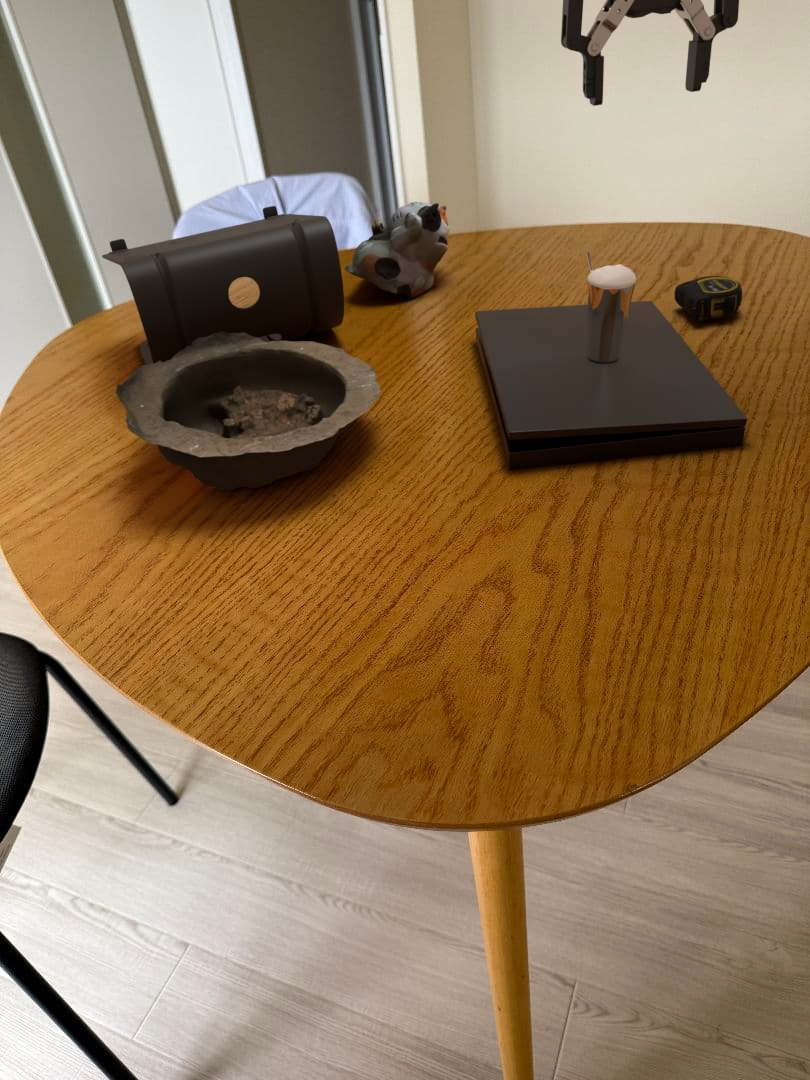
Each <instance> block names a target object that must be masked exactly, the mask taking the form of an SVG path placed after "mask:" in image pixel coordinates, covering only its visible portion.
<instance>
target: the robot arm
mask: <svg viewBox="0 0 810 1080" xmlns="http://www.w3.org/2000/svg"><path fill="white" fill-rule="evenodd" d="M739 9H740V0H713V14H712V15H711V16H710V15H708V13H707V11H706V9H705V5H704V3H703V1H702V0H605V1H604V3H603V6H602V7H601V9H600V10H599V12H598V14H597V15H596V17H595V20H594V22H593V24H592V25H591V27H590V29H589V31H588V32H587V34H586V35H583V34H582V30H583V29H582V28H583V27H582V26H583V14H584V13H583V12H584V0H562V10H561V11H562V13H561V17H562V18H561V33H560V44H561V46H562V47H563V48H565V49H568V50H569V51H573V52H577V53H579V54H581V56H582V92H583V95H584V98H586V99H587V100H589V104H590V105H591V106H593V107H595V106H602V105H603V101H604V75H605V74H604V72H605V56H604V55H602V50H603V49H604V47H605V45H606V44H607V42H608V41H609V39H610V38H611V36H612V34H613V32H615V31H616V30H617V29H618V27H619V26H620V24H621V22H622V21H623V19H624V18H625V17H627V18H630V19H639V18H644V17H646V16H648V15H650V14H656V15H657V14H658V15H667V14H671V13H672V12H673V11H675V12H676V14H677V16H678V17H679V18H680V19H681V20H682V21H683V23H684V24H685V26H686V27H687V29H688V31H689V33H690V34H691V36H692V40H688V49H687V59H686V60H687V62H686V73H685V82H684V83H685V85H684V86H685V90H686V91H687V92H690V93H694V92H700V91H701V89H702V85H703V84H705V83H707V81H708V78H709V76H710V67H711V57H712V46H713V41H714V39H715V37H716V36H717V35H718V34H719V33H722V32H723V31H725V30H727V29H731V28H733V27H735V26H736V25H737V23H738V20H739Z"/></svg>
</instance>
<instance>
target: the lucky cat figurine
mask: <svg viewBox="0 0 810 1080" xmlns="http://www.w3.org/2000/svg"><path fill="white" fill-rule="evenodd" d="M439 206H440V203H438V202H435V203H431V202H430V203H429V202H427V201H422V200H421V201H411V202H409V203H407V204H405V205H402V206H399V207H398V208H397V209H396V210H395V212H394V213H393V214H392V216H391V219H390V221H389V225H388V226H387V231H386V228H385V226H384V224H383V222H382V221H379V220H377V219H376V220H375V221H374V222H373V224H372V225H371V232H372V235H371V236H369V238H368V239H365V240H363V241H361V243H360V244H358V246H357V247H356V249H355V250H354V252H353V256H352V260H351V263H350V264H347V265H346V266H344V270H345V271H346V272H348V273H349V274H351V275H353V276H354V277H356V278H357V277H358V278H360V279H363V280H365V281H367V282H370V283H371V284H374V285H375V286H376V287H377V288H379V289H380V290H383V291H387V292H389V293H392V294H395V295H400V294H402V293H404V294H405V295H406V298H407V299H411V298H415V297H417V296H419V295H421V294H423V293H424V292H426V291H427V290H429V289H431V288H432V287H433V284H434V280H435V277H434V271H435V268H436V267H437V265H438V264H439V262H441V260H442V259H443V257H444V256H445V254H446V253H447V252H448V250H449V244H448V243H449V242H448V239H449V234H450V227H449V220H448V216H447V214H446V211H447V206H446V205H441V206H440V207H439Z"/></svg>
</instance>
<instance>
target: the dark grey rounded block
mask: <svg viewBox="0 0 810 1080" xmlns="http://www.w3.org/2000/svg"><path fill="white" fill-rule="evenodd" d="M278 212H279V211H278V208H277V206H276V205H271V206H266V207H263V208H262V215H263V219H258V220H254V221H248V222H245V223H240V224H236V225H232V226H231V225H230V226H226V227H222V228H218V229H212V230H209V231H204V232H199V233H195V234H190V235H186V236H181V237H178V238H172V239H168V240H163V241H159V242H155V243H150V244H149V243H148V244H146V245H145V244H144V245H141V246H136V247H132V248H128V246H127V242H126V240H125V239H124V238H118V239H113V240H111V241H110V242H109V247H110V250H111V251H109V252H108V253H105V254H103V255H101V257H102V258H103V259H104V260H107V261H109V262H112V263H114V264H115V265H118V266H120V267H121V268H122V271H123V273H124V275H125V278H126V281H127V283H128V285H129V288H130V291H131V294H132V297H133V301H134V303H135V307H136V309H137V312H138V315H139V318H140V322H141V325H142V329H143V332H144V335H145V339H146V340H145V341H143V342H142V343H141V344H140V346H139V351H140V354H141V356H142V358H143V361H144V365H149V364H151V363H157V362H158V361H159V360H160V361H161V362H165V361H168V360H171V359H172V358H173V356H175V355H176V354H177V353H178V352H179V351H181V350H184V349H185V347H186V346H191V345H192V342H193V341H194V340H196V339H197V338H199V337H208V336H210V335H212V334H214V333H219V332H226V333H242V332H243V333H247V334H248V335H251V336H253V337H256V338H259V339H261V340H262V341H264V342H270V341H290V340H293V339H297V338H301V337H304V336H306V335H308V333H309V334H315V333H320V332H323V331H327V330H331V329H334V328H338V327H340V326H341V325H343V321H344V316H345V292H344V282H343V274H342V268H341V261H340V255H339V250H338V245H337V240H336V236H335V233H334V229H333V227H332V224H331V222H330V220H329V219H328V217H327V216H325V215H313V214H312V215H311V214H297V213H296V214H295V213H286V214H285V213H281V214H279V213H278ZM241 278H250V279H251V280H253V281H254V282H255V283H256V285H257V286H258V291H259V295H258V299H257V300H256V301H255V303H253V304H252V305H250V306H248V307H238V306H236V305H235V304H233V303H232V301H231V300H230V295H229V293H230V287H231V285H232V284H233V282H234V281H236V280H238V279H241Z"/></svg>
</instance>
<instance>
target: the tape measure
mask: <svg viewBox="0 0 810 1080" xmlns="http://www.w3.org/2000/svg"><path fill="white" fill-rule="evenodd" d="M742 300H743V288H742V286H741V284H740V282H739V281H737V280H736V279H734V278H731V277H728V276H722V275H721V276H720V275H707V276H701V277H698V278H695V279H691V280H689V281H684V282H682V283H680V284H678V285H676V287H675V288H674V301H675V302H676V304H677V305H678V306H679V307H680V308H682V309H683V310H684V311H686V312H687V314H688V315H690V316H691V318H692V319H693V320H694V321H697V322H703V321H706V320H708V319H712V320H713V319H715V320H717V319H725V318H727V317H730V316H732V315H734V314H735V313H737V311H738V310H739V308H740V307H741V305H742Z"/></svg>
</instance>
